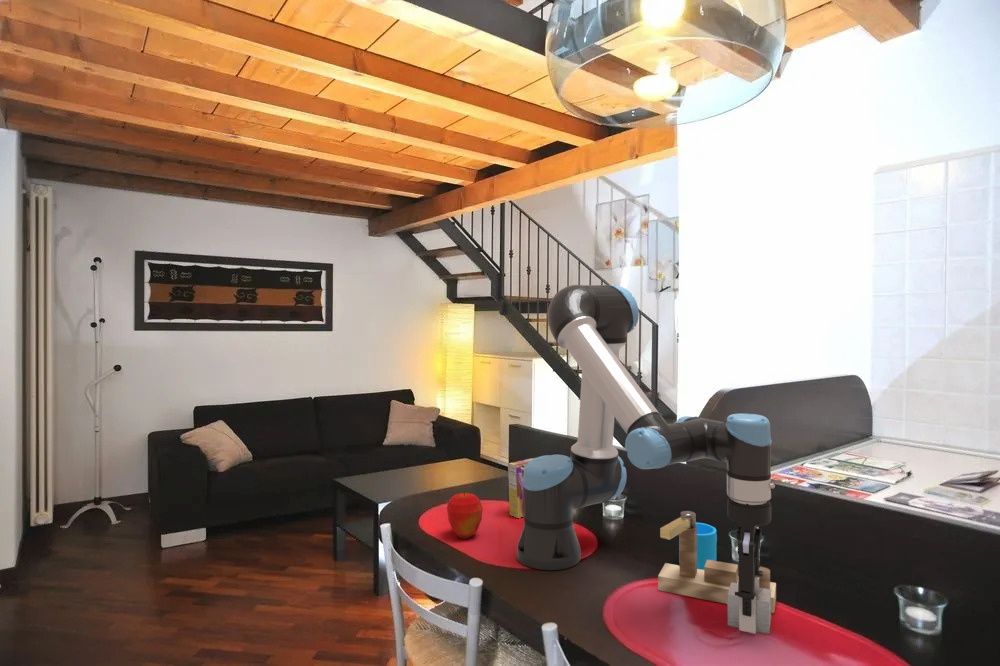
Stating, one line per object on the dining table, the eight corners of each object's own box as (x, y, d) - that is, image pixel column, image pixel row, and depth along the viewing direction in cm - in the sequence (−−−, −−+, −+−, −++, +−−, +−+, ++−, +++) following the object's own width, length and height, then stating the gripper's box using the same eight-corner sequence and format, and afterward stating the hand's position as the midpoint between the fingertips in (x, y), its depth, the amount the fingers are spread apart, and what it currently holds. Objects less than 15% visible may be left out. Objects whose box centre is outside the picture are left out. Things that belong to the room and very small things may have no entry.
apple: (489, 535, 156) (489, 489, 155) (465, 545, 149) (464, 498, 149) (464, 527, 162) (464, 483, 161) (440, 536, 155) (439, 491, 155)
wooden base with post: (658, 590, 124) (657, 527, 123) (665, 576, 130) (665, 517, 130) (774, 613, 114) (774, 545, 113) (776, 597, 120) (776, 533, 119)
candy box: (532, 508, 176) (531, 457, 176) (541, 512, 173) (540, 460, 172) (508, 515, 171) (507, 462, 170) (517, 519, 167) (516, 465, 167)
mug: (704, 574, 131) (704, 538, 130) (672, 563, 137) (672, 528, 137) (731, 559, 139) (731, 524, 138) (699, 549, 145) (699, 516, 144)
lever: (684, 521, 126) (684, 510, 126) (698, 524, 124) (698, 513, 124) (658, 536, 118) (657, 524, 118) (672, 540, 116) (671, 528, 116)
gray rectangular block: (727, 626, 110) (727, 594, 110) (731, 612, 115) (731, 582, 114) (769, 635, 106) (769, 602, 106) (770, 621, 111) (771, 589, 111)
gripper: (767, 519, 99) (768, 653, 100) (774, 486, 117) (774, 600, 118) (720, 512, 102) (720, 642, 103) (733, 482, 121) (734, 592, 121)
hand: (749, 620), depth 110 cm, fingers open, 8 cm apart
